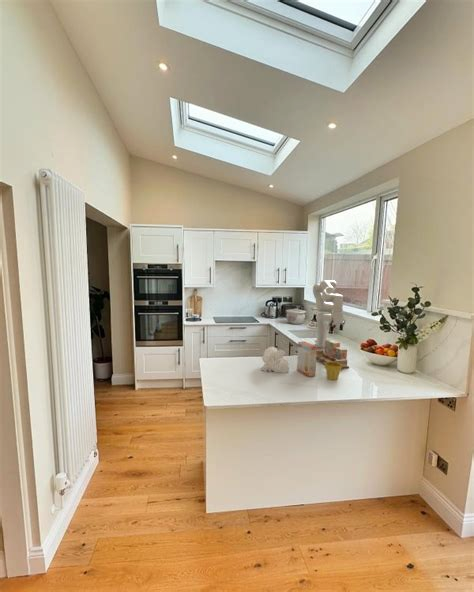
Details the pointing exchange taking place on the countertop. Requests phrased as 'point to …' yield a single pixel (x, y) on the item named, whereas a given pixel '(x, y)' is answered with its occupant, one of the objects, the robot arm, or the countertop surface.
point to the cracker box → (306, 358)
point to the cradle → (330, 359)
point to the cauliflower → (275, 360)
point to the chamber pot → (295, 316)
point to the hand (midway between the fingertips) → (336, 330)
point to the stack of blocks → (335, 350)
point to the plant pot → (333, 370)
